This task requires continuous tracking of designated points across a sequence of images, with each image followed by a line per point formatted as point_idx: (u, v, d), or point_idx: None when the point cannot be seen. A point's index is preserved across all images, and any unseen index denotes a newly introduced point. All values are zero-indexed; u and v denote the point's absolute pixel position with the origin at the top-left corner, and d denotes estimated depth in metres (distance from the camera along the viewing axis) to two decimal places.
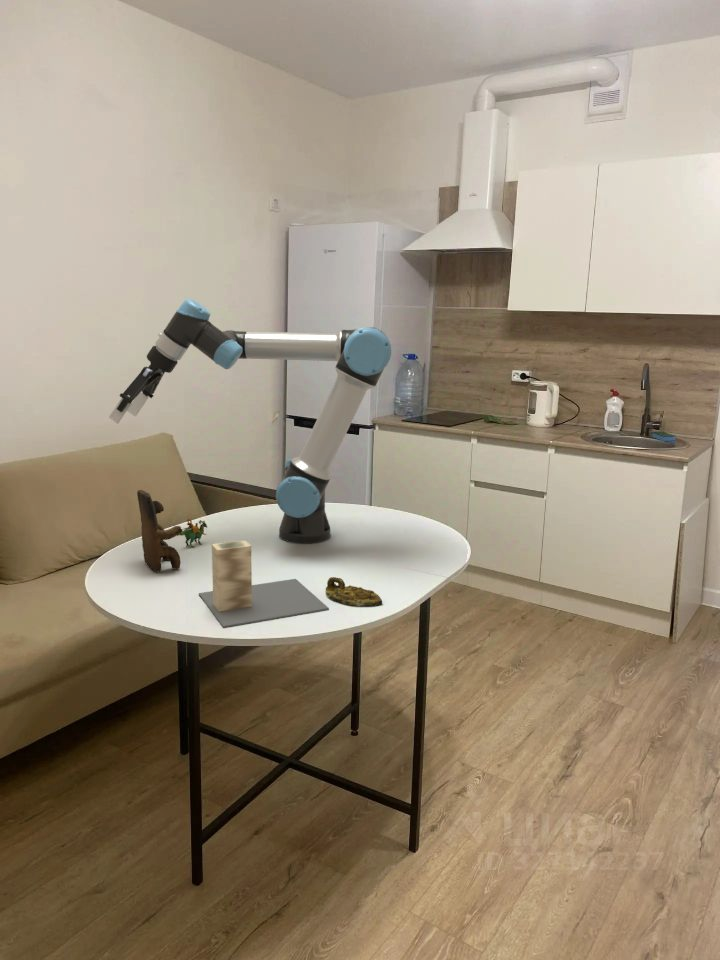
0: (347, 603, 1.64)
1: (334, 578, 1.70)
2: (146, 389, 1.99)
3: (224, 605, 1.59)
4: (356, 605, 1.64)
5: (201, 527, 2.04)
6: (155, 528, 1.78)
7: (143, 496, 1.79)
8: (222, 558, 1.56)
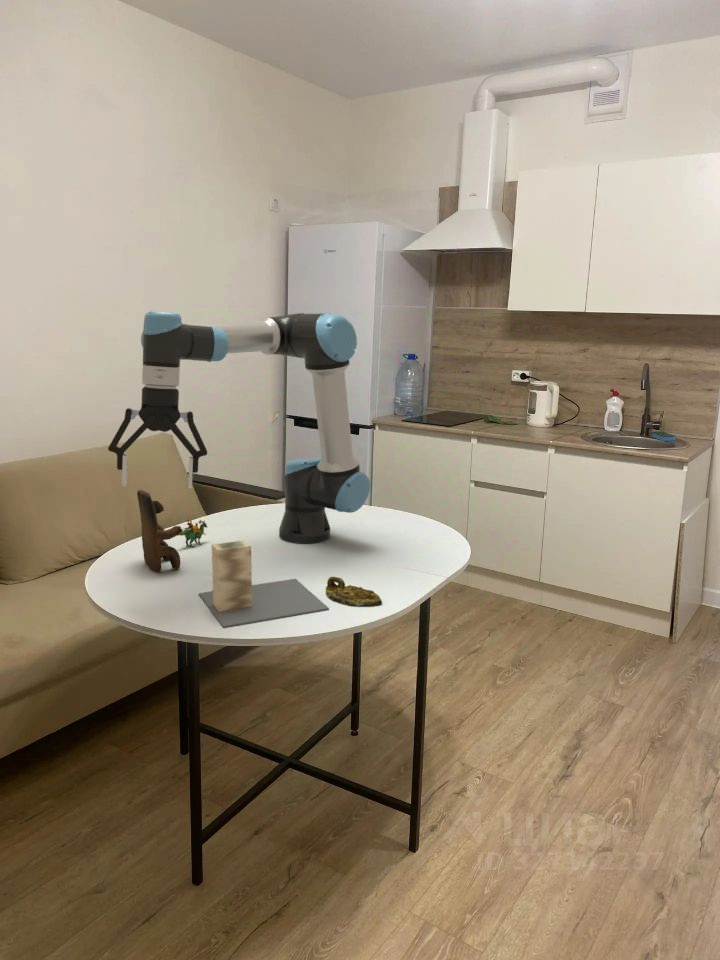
0: (346, 603, 1.64)
1: (334, 578, 1.70)
2: None
3: (224, 605, 1.59)
4: (355, 605, 1.64)
5: (201, 527, 2.04)
6: (155, 528, 1.78)
7: (143, 496, 1.79)
8: (222, 558, 1.56)
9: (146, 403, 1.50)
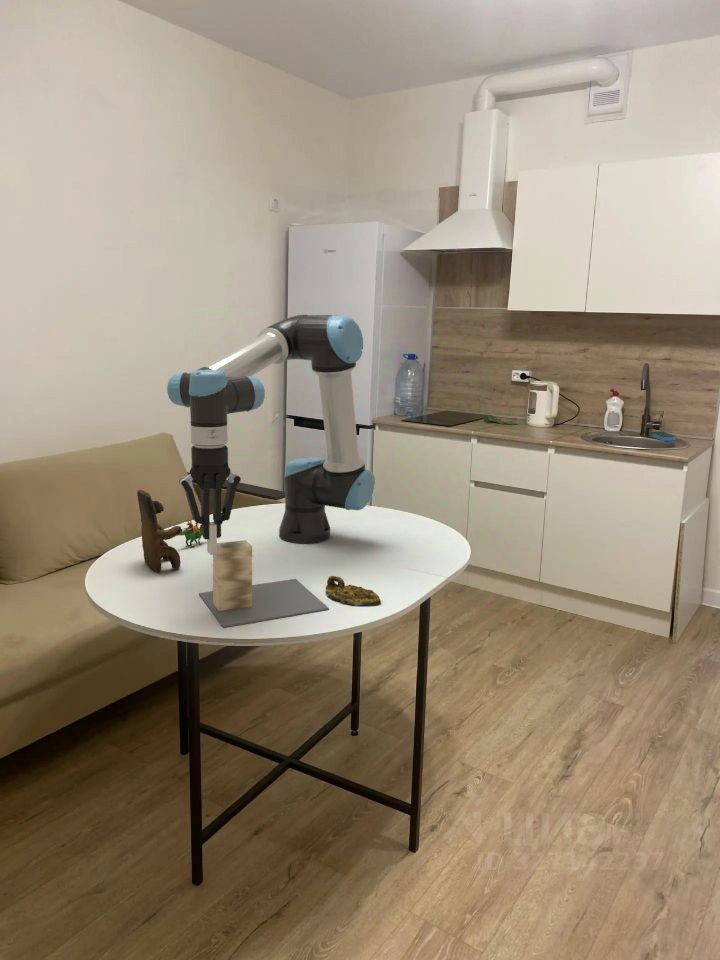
0: (345, 602, 1.65)
1: (334, 577, 1.71)
2: None
3: (224, 605, 1.59)
4: (354, 604, 1.64)
5: (201, 527, 2.04)
6: (155, 528, 1.78)
7: (143, 496, 1.79)
8: (223, 557, 1.56)
9: (200, 464, 1.49)
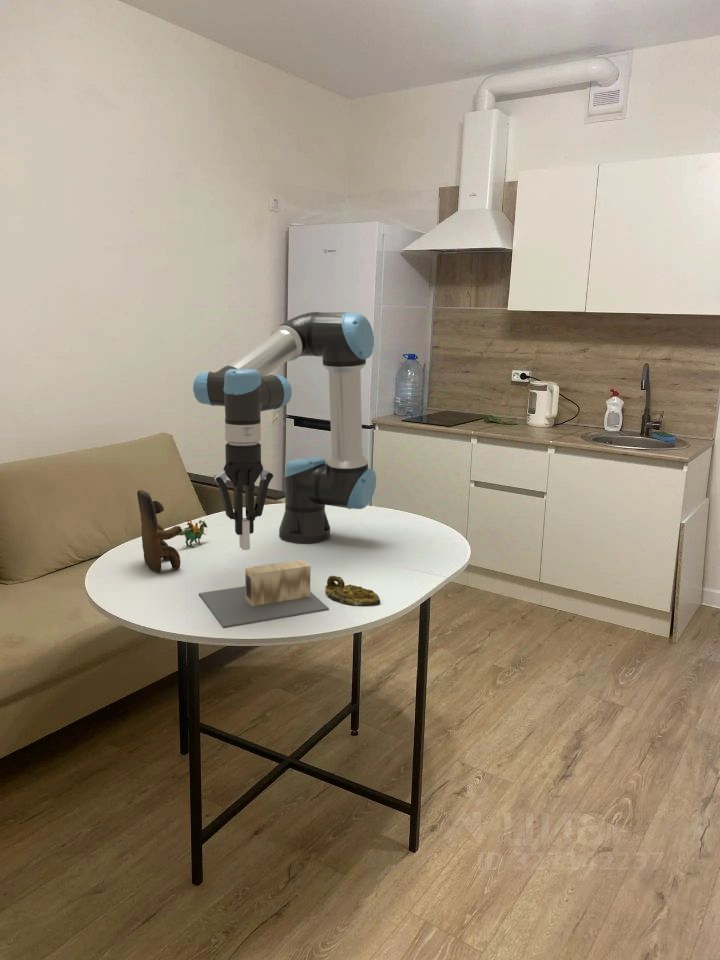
0: (345, 602, 1.65)
1: (334, 577, 1.71)
2: None
3: (256, 579, 1.61)
4: (354, 604, 1.64)
5: (201, 527, 2.04)
6: (155, 528, 1.78)
7: (143, 496, 1.79)
8: (302, 571, 1.65)
9: (235, 461, 1.52)
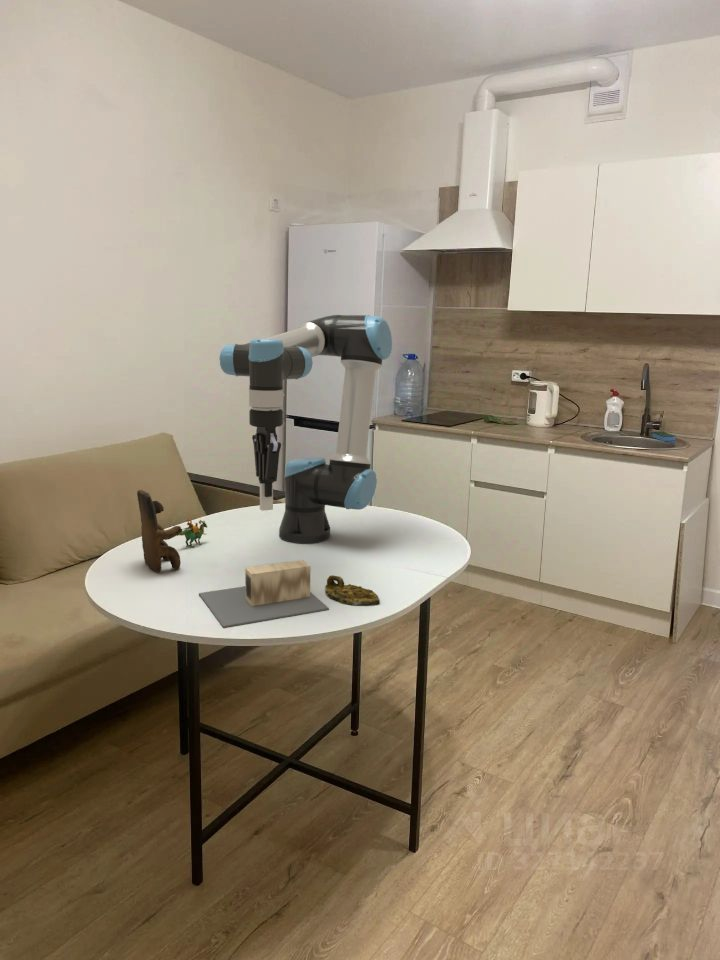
0: (344, 601, 1.65)
1: (334, 576, 1.71)
2: None
3: (256, 579, 1.61)
4: (353, 604, 1.64)
5: (201, 527, 2.04)
6: (155, 528, 1.78)
7: (143, 496, 1.79)
8: (302, 571, 1.65)
9: (281, 424, 1.64)
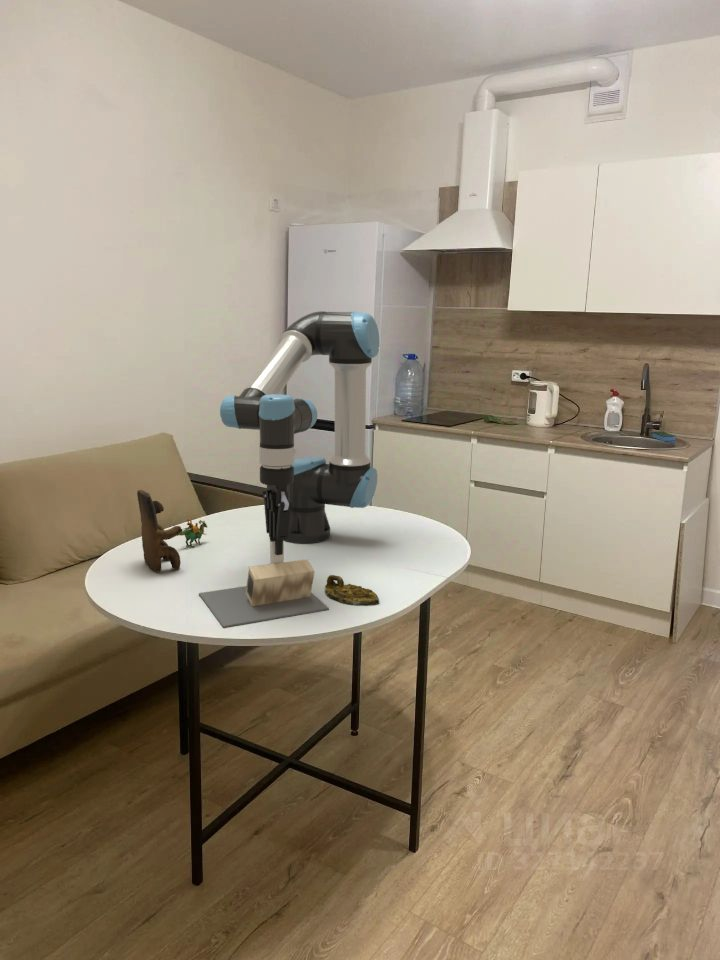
0: (344, 601, 1.65)
1: (333, 576, 1.71)
2: None
3: (259, 583, 1.59)
4: (352, 603, 1.64)
5: (201, 527, 2.04)
6: (155, 528, 1.78)
7: (143, 496, 1.79)
8: (305, 575, 1.64)
9: (292, 482, 1.60)
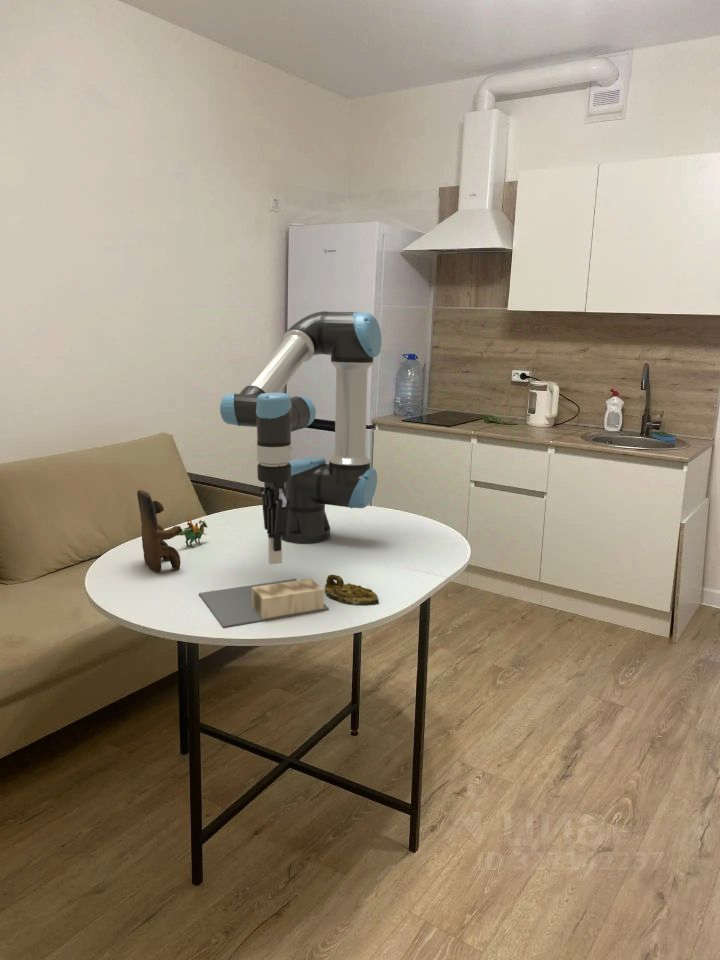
0: (343, 601, 1.65)
1: (333, 576, 1.72)
2: None
3: None
4: (352, 603, 1.65)
5: (201, 527, 2.04)
6: (155, 528, 1.78)
7: (143, 496, 1.79)
8: None
9: (289, 479, 1.62)
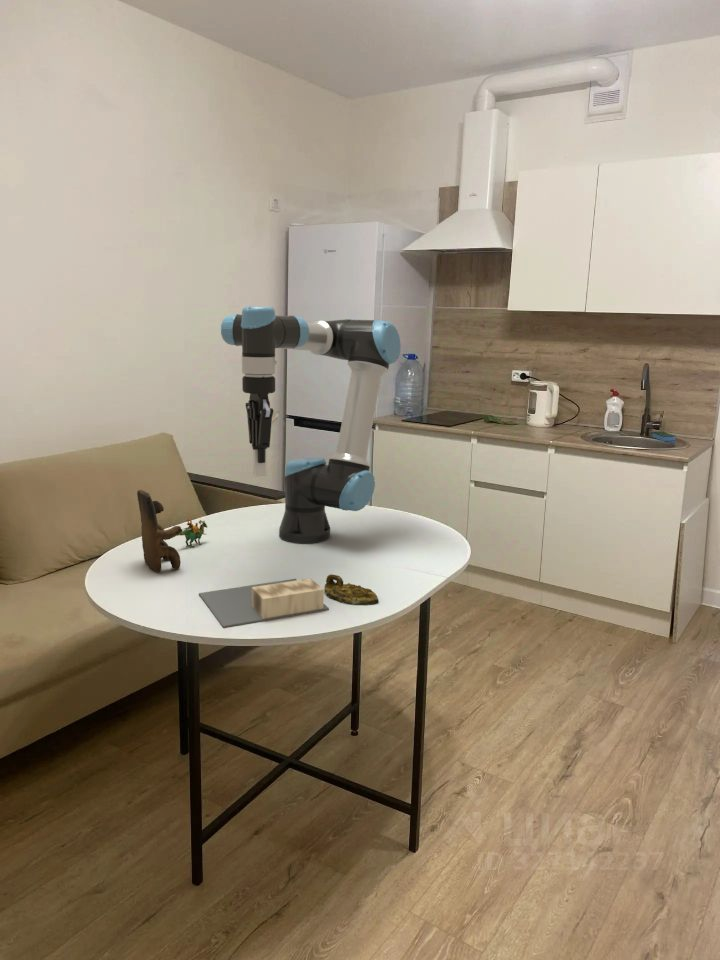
0: (343, 600, 1.65)
1: (333, 575, 1.72)
2: None
3: None
4: (352, 603, 1.65)
5: (201, 527, 2.04)
6: (155, 528, 1.78)
7: (143, 496, 1.79)
8: None
9: (273, 391, 1.67)
